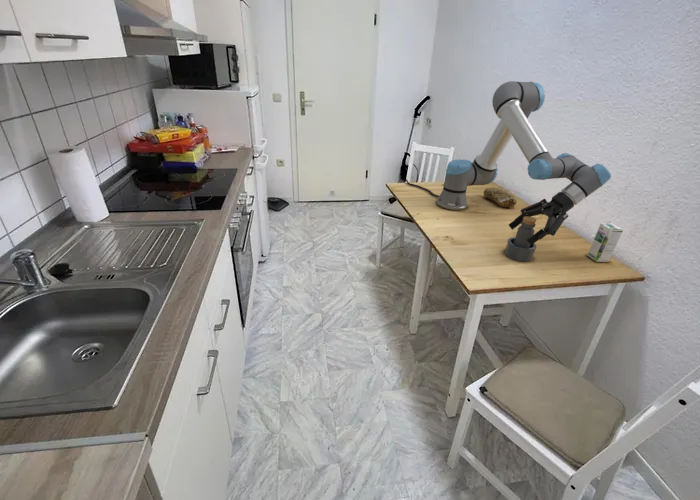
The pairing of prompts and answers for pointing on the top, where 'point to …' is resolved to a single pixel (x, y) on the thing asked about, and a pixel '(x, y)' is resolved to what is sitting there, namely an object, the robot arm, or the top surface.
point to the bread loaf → (500, 197)
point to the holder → (519, 251)
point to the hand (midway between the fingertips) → (519, 234)
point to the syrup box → (604, 242)
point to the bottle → (525, 232)
